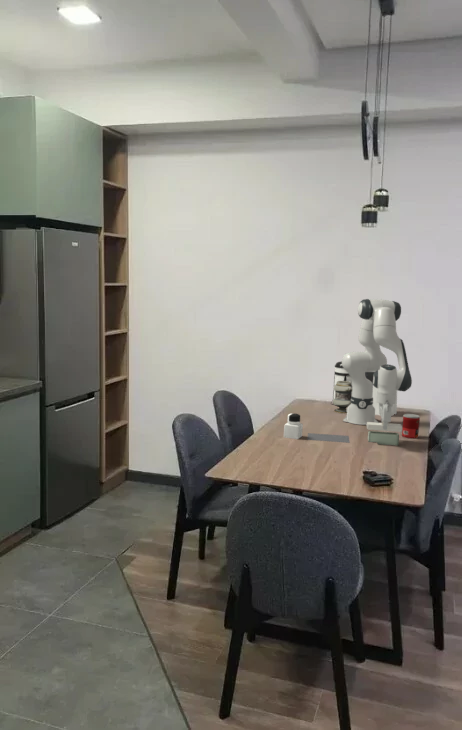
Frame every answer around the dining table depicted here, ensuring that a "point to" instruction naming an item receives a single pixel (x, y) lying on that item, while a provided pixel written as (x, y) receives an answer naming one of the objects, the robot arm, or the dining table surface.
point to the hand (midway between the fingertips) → (384, 427)
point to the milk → (376, 405)
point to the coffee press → (340, 376)
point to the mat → (328, 437)
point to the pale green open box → (383, 437)
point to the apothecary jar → (342, 396)
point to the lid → (380, 427)
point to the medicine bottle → (293, 427)
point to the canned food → (410, 425)
